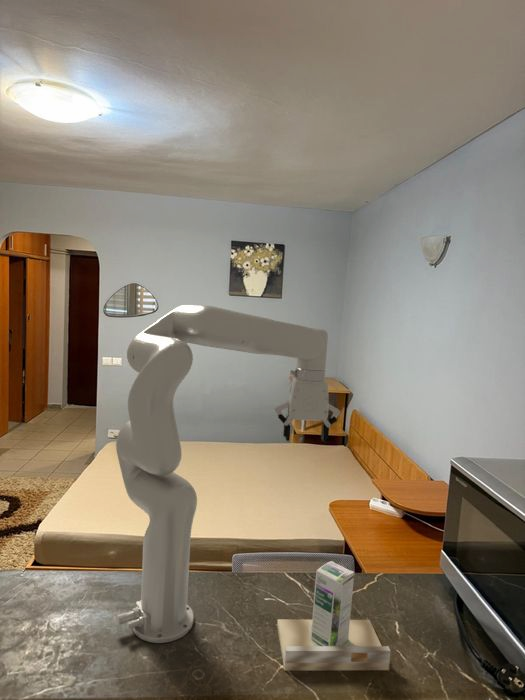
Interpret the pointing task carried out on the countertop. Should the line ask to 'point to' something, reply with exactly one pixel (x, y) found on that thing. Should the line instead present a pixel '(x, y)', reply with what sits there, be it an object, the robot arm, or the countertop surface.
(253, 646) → the countertop surface
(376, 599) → the countertop surface
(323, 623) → the syrup box
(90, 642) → the countertop surface
